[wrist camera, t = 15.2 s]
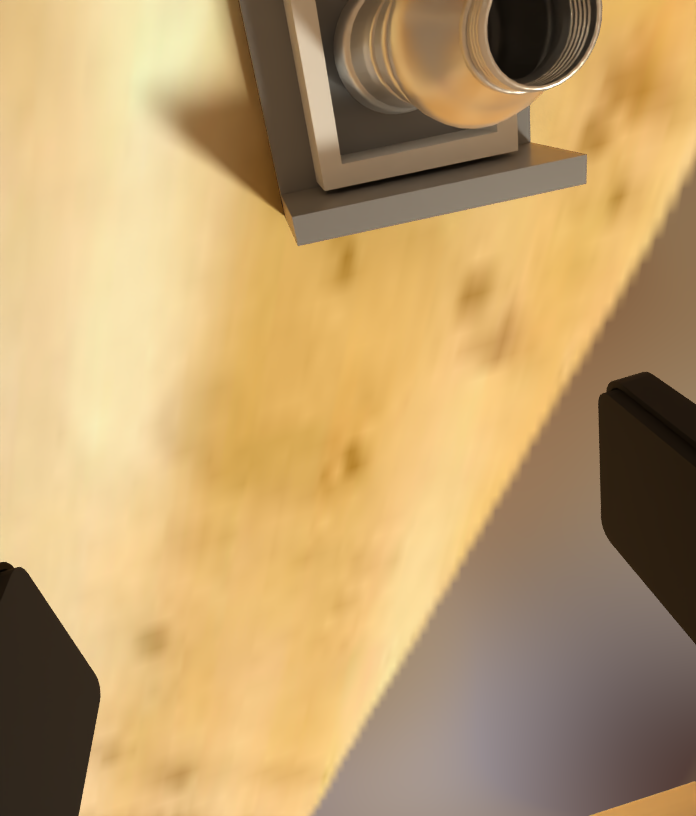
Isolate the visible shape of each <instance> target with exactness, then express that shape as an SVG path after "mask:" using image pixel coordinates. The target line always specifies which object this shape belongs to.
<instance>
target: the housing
mask: <svg viewBox="0 0 696 816" xmlns="http://www.w3.org/2000/svg"><path fill="white" fill-rule="evenodd" d="M347 2H348V0H239V5H240V10H241V14H242V19H243V24H244V28H245V33H246V38H247V42H248V47H249V52H250V56H251V61H252V66H253V70H254V75H255V80H256V84H257V89H258V94H259V98H260V103H261V108H262V112H263V117H264V122H265V126H266V131H267V136H268V140H269V145H270V150H271V154H272V159H273V164H274V168H275V173H276V177H277V182H278V187H279V191H280V196H281V201H282V205H283V210H284V215H285V218H286V220H287V222H288V225H289V227H290V229H291V231H292V234H293V236H294V238H295V240H296V243H297V245H298V246H300V245H305V244H310V243H314V242H319V241H323V240H328V239H333V238H337V237H342V236H347V235H351V234H356V233H360V232H365V231H370V230H374V229H379V228H384V227H388V226H393V225H397V224H402V223H407V222H411V221H416V220H421V219H425V218H430V217H434V216H439V215H444V214H448V213H453V212H458V211H462V210H467V209H471V208H476V207H481V206H485V205H490V204H495V203H499V202H504V201H508V200H513V199H518V198H522V197H527V196H532V195H536V194H541V193H546V192H550V191H555V190H559V189H564V188H569V187H573V186H578V185H583V184H586V173H587V154H582V153H578V152H573V151H568V150H564V149H559V148H554V147H550V146H545V145H540V144H536V143H531V142H530V105H529V106H528V107H526V108H525V109H523V110H522V111H520V112H518V113H517V114H515V115H514V116H512V117H511V118H509V119H508V120H505V121H503V122H500V123H498V124H495V125H493V126H488V127H483V128H478V129H467V128H457V127H453V126H449V125H445V124H443V123H441V122H438V121H437V120H435V119H433V118H431V117H429V116H427V115H425V114H424V113H422V112H421V111H420V110H419V109H417V110H414V111H411V112H407V113H402V114H384V113H380V112H376V111H373V110H371V109H369V108H367V107H365V106H363V105H362V104H361V103H360V102H358V101H357V100H356V99H354V97H353V96H352V95H351V94H350V93H349V92H348V90H347V89H346V88H345V86H344V84H343V82H342V80H341V79H340V76H339V73H338V70H337V67H336V64H335V58H334V35H335V30H336V25H337V22H338V19H339V17H340V14H341V12H342V10H343V8H344V7H345V5H346V3H347Z"/></svg>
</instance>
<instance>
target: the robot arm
mask: <svg viewBox="0 0 696 816" xmlns="http://www.w3.org/2000/svg"><path fill="white" fill-rule="evenodd" d="M598 405H599V406H598V408H599V444H600V445H599V448H600V486H601V520H602V525H603V529H604V531H605V534H606V536H607V538H608V539H609V541H610V542H611V543H612V545H613V546H614V547H615V548H616V549H617V551H618V552H619V553H620V554H621V555H622V557H623V558H624V559H625V560H626V561H627V563H628V564H629V565H630V566H631V567H632V569H633V570H634V571H635V572H636V573H637V575H638V576H639V577H640V578H641V579H642V580H643V582H644V583H645V584H646V585H647V587H648V588H649V589H650V590H651V591H652V592H653V593H654V595H655V596H656V597H657V598H658V600H659V601H660V602H661V603H662V604H663V606H664V607H665V608H666V609H667V610H668V612H669V613H670V614H671V615H672V617H673V618H674V619H675V620H676V621H677V623H679V625H680V626H681V627H682V628H683V629H684V631H685V632H686V633H687V634H688V636H689V637H690V638H691V639H692V640H693V642H694V643H695V644H696V404H694V403H693V402H691V401H690V400H689V399H687V398H686V397H684V396H683V395H681V394H680V393H678V392H677V391H675V390H674V389H673V388H671V387H670V386H668V385H667V384H666V383H664V382H663V381H661V380H660V379H659V378H657V377H655V376H654V375H653V374H651V373H649V372H642V373H638V374H635V375H632V376H628V377H625V378H622V379H618V380H615V381H612V382H610V383H609V384H608V387H607V392H606V393H603V394H602V395H600V397H599V403H598ZM99 703H100V686H99V682H98V679H97V677H96V675H95V673H94V672H93V670H92V669H91V667H90V666H89V664H88V663H87V661H86V660H85V658H84V657H83V655H82V654H81V652H80V651H79V649H78V648H77V646H76V645H75V643H74V642H73V640H72V639H71V637H70V636H69V634H68V633H67V631H66V630H65V628H64V627H63V625H62V624H61V622H60V621H59V619H58V618H57V616H56V615H55V613H54V612H53V610H52V609H51V607H50V606H49V604H48V603H47V601H46V600H45V598H44V597H43V595H42V594H41V592H40V591H39V589H38V588H37V586H36V585H35V583H34V582H33V580H32V579H31V577H30V576H29V574H28V573H27V572H26V571H25V569H23V568H21V567H17V568H14V567H13V566H12V565H11V564H9V563H7V562H0V816H78V815H79V810H80V805H81V799H82V794H83V788H84V783H85V778H86V772H87V767H88V762H89V756H90V751H91V746H92V740H93V735H94V730H95V724H96V719H97V714H98V708H99ZM590 816H696V781H695V782H692V783H688V784H685V785H682V786H679V787H676V788H673V789H670V790H667V791H664V792H661V793H658V794H655V795H652V796H649V797H645V798H642V799H639V800H636V801H633V802H630V803H627V804H624V805H621V806H618V807H615V808H612V809H609V810H606V811H602V812H599V813H596V814H593V815H590Z"/></svg>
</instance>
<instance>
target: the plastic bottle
mask: <svg viewBox="0 0 696 816" xmlns="http://www.w3.org/2000/svg"><path fill="white" fill-rule="evenodd" d="M601 21H602V0H348V2H347V3H346V5H345V7H344V8H343V10H342V12H341V14H340V17H339V19H338V22H337V25H336V30H335V35H334V58H335V64H336V67H337V70H338V73H339V76H340V79H341V80H342V82H343V84H344V86H345V88H346V89H347V90H348V92H349V93H350V94H351V95H352V96H353V97H354V99H356V100H357V101H358V102H360V103H361V104H362V105H363V106H365V107H367V108H369V109H371V110H373V111H376V112H380V113H384V114H402V113H407V112H411V111H414V110H417V109H419V110H420V111H421V112H422V113H424V114H425V115H427V116H429V117H431V118H433V119H435V120H437V121H438V122H441V123H443V124H445V125H449V126H453V127H457V128H467V129H478V128H483V127H488V126H493V125H495V124H498V123H500V122H503V121H505V120H508V119H509V118H511V117H512V116H514V115H515V114H517V113H518V112H520V111H522V110H523V109H525V108H526V107H528V106H529V105H530V104H531V103H532V102H533V101H534V100H535V99H537V98H538V97H539V96H540V95H541V94H542V93H543V91H544V90H548V89H550V88H553V87H555V86H557V85H560V84H561V83H563V82H565V81H566V80H568V79H569V78H571V77H572V76H573V75H574V74H575V73H576V72H577V71H578V70H579V69H580V68H581V67H582V65H583V64H584V63H585V61H586V60H587V59H588V57H589V55H590V54H591V52H592V50H593V48H594V46H595V43H596V41H597V38H598V35H599V31H600V26H601Z"/></svg>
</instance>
